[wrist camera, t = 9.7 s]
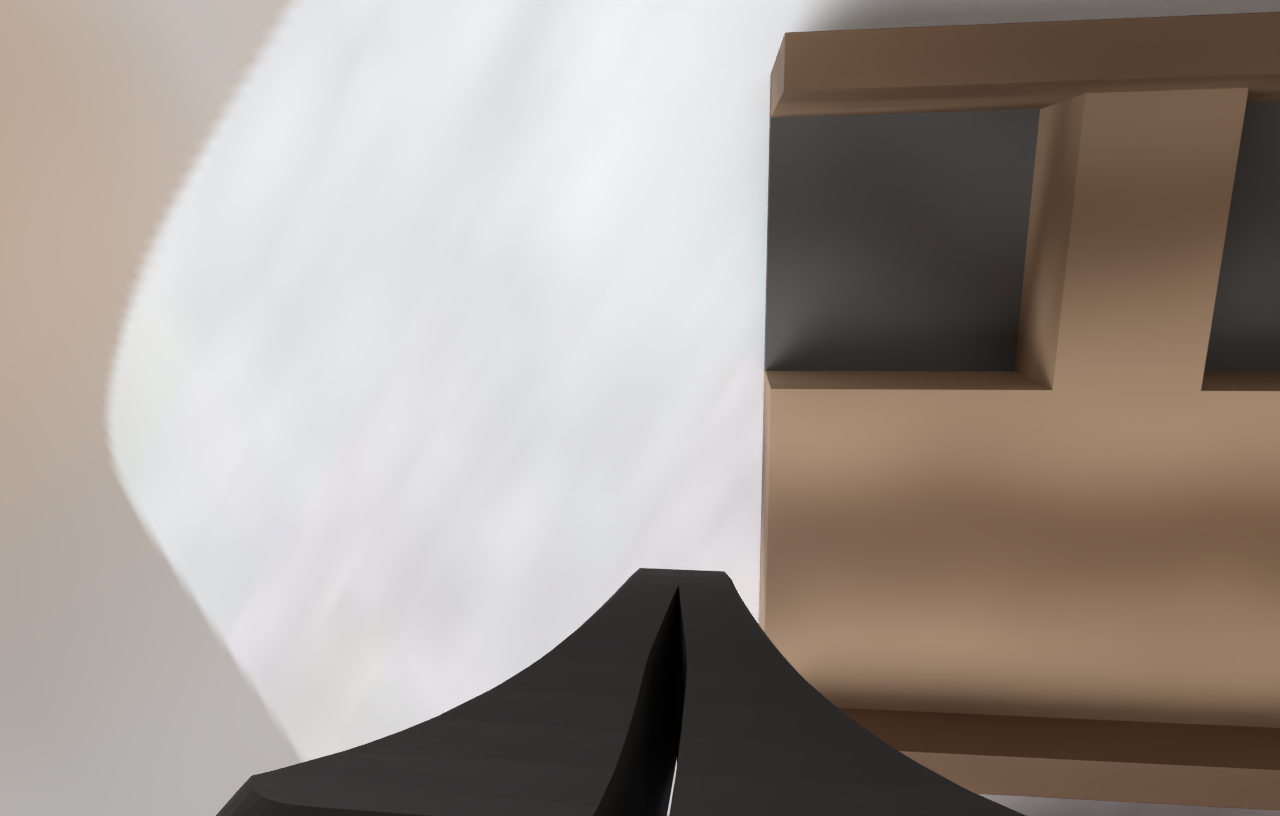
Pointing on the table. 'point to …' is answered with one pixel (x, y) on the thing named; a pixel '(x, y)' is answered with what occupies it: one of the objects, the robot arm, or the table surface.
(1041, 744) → the trap track
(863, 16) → the table surface
